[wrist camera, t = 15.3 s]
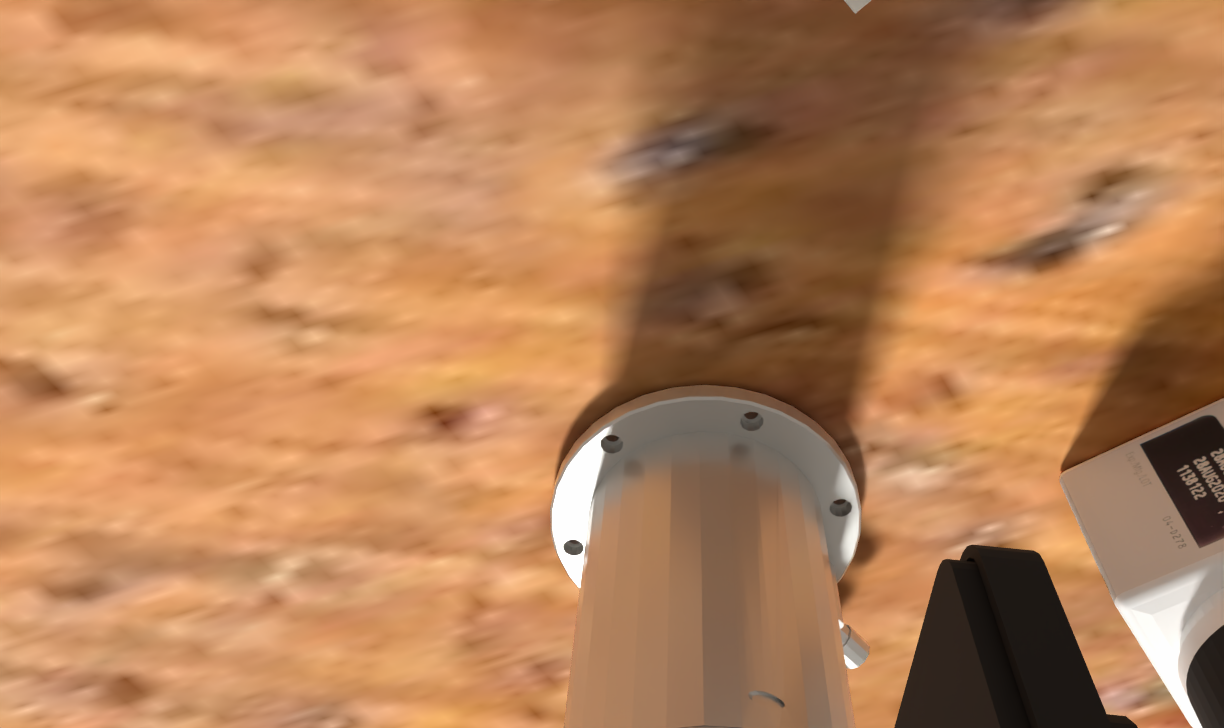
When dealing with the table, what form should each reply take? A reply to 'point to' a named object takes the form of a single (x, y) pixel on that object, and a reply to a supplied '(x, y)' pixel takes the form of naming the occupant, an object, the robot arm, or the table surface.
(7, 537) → the table surface
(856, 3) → the post board
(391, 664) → the table surface
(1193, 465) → the container
